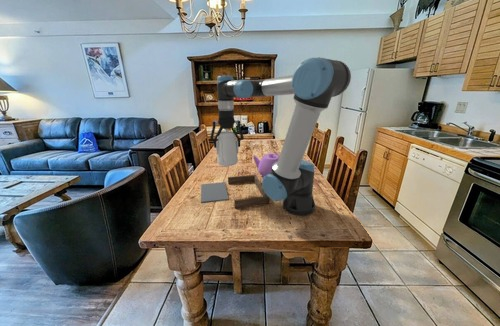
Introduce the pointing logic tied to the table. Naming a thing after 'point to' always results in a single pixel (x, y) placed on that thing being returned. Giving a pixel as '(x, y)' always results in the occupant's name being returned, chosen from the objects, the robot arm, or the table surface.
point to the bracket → (249, 201)
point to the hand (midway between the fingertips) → (227, 153)
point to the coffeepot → (227, 148)
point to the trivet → (213, 192)
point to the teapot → (266, 163)
